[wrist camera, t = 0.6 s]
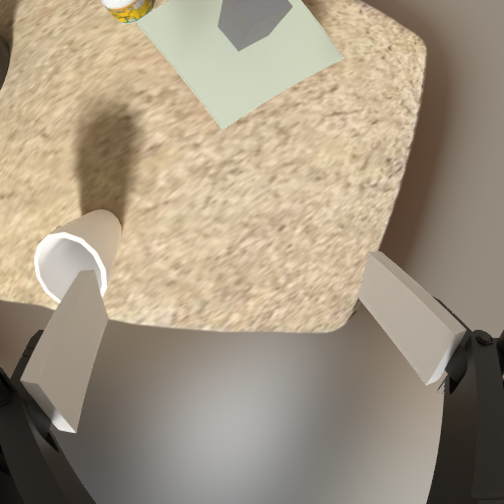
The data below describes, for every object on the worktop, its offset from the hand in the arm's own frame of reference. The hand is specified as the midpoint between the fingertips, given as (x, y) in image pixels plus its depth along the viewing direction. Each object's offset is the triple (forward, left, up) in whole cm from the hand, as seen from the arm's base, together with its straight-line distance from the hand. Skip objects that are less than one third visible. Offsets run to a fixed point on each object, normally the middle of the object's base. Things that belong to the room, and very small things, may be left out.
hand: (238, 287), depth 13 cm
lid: (-13, +12, -18) cm, 25 cm away
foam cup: (-5, -17, -27) cm, 33 cm away
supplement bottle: (-28, +6, -27) cm, 39 cm away
